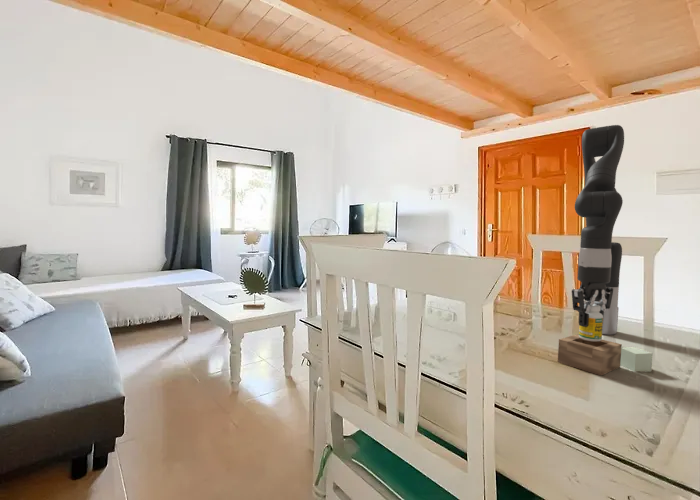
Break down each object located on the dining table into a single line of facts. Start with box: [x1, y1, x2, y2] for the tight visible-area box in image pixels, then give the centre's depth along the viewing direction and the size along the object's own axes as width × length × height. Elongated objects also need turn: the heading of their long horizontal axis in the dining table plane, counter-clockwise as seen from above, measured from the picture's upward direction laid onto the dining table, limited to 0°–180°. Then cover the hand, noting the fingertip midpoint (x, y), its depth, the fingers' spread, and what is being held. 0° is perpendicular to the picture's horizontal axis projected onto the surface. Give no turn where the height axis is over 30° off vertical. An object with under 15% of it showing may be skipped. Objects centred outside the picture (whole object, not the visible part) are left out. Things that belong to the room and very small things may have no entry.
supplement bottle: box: [578, 304, 603, 342], centre depth 100 cm, size 5×5×10 cm
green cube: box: [620, 346, 653, 373], centre depth 99 cm, size 5×5×5 cm
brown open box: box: [557, 333, 623, 376], centre depth 101 cm, size 11×11×6 cm
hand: (590, 324), depth 100 cm, fingers closed on supplement bottle, 5 cm apart
